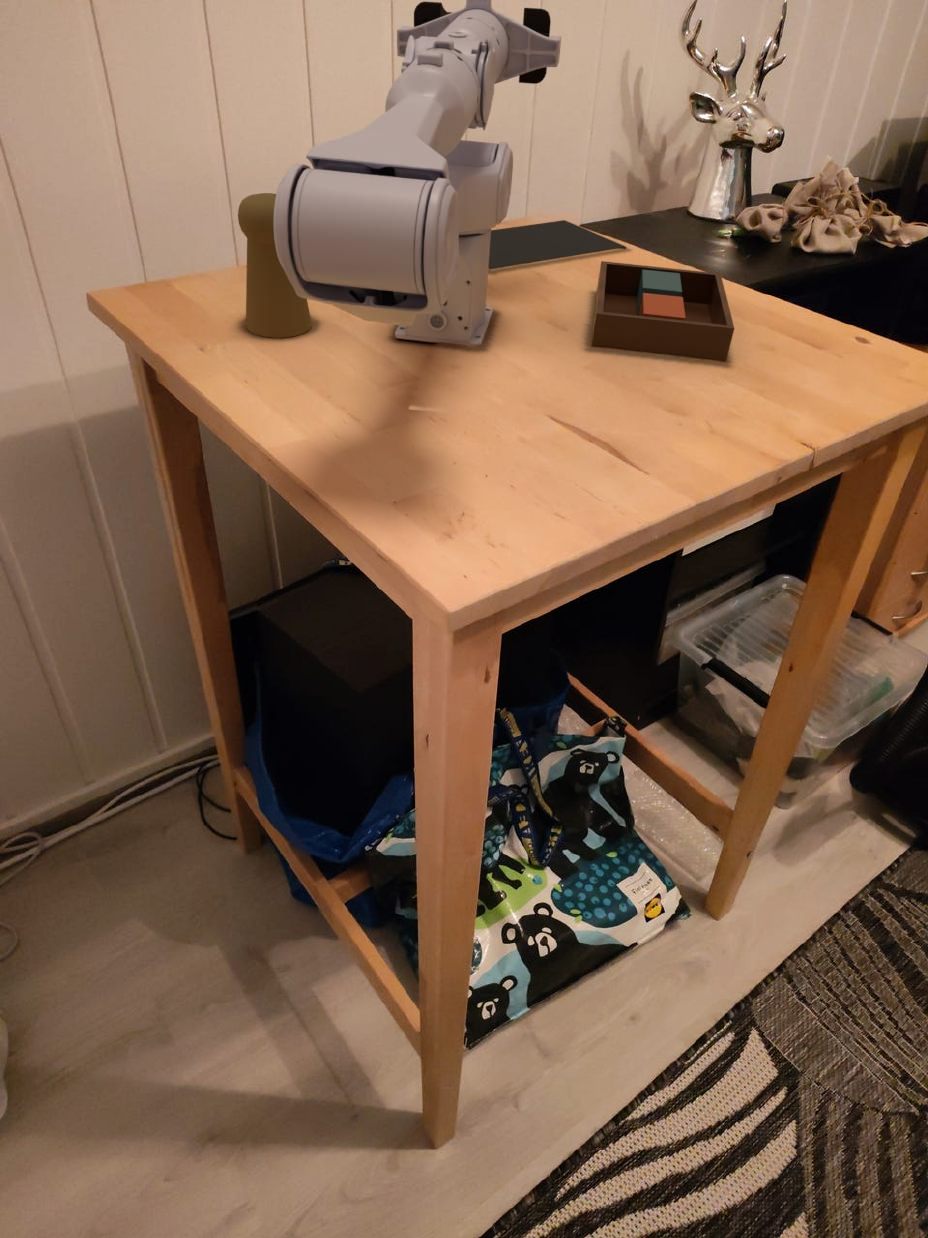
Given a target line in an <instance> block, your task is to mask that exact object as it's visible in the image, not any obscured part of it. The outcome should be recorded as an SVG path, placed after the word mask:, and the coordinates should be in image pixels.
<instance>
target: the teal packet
mask: <svg viewBox="0 0 928 1238" xmlns="http://www.w3.org/2000/svg"><path fill="white" fill-rule="evenodd" d="M643 293H650V294H659V295H668V296H678V297H681V295H682V287H681V279H680V274H679V273H671V272H661V271H652V270H642V274H641V279H640V284H639V290H638V295H637V316H639V311H640V306H641V300H642V295H643Z"/></svg>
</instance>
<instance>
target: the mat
mask: <svg viewBox="0 0 928 1238" xmlns="http://www.w3.org/2000/svg"><path fill="white" fill-rule="evenodd" d="M619 249H622V250H627V246H625V245H623V244H621V243H618V242H616V241H614V240H612V239H610V238H606V237H605V236H602V235H599V234H598V233H595V232H594V231H591V230H588V229H586V228H584V227H582V226H580V225H577V224H574V223H572V222H570V221H568V220H564V219H563V220H557V221H549V222H548V221H547V222H542V223H535V224H527V225H521V226H519V225H518V226H511V227H505V228H498V229H491V238H490V253H489V267H488V270H495V269H501V268H502V269H503V268H507V267H513V266H519V265H520V266H522V265H526V264H532V263H538V262H539V263H540V262H543V261H544V262H545V261H550V260H555V259H563V258H570V257H575V256H581V255H587V254H593V253H600V252H605V251H612V250H619Z"/></svg>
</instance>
